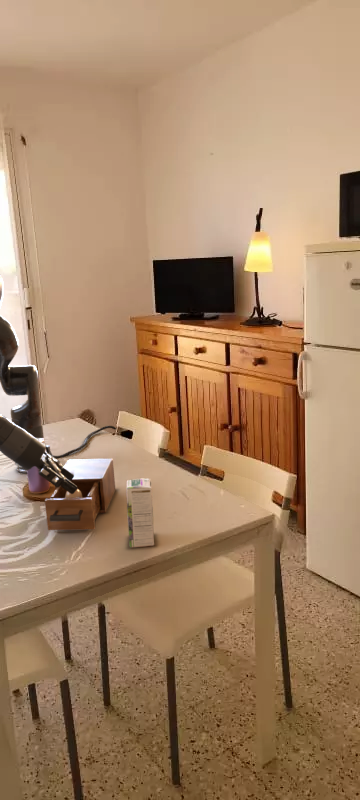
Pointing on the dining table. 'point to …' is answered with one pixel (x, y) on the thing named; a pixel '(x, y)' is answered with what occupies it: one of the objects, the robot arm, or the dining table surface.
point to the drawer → (74, 508)
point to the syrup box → (140, 512)
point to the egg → (76, 494)
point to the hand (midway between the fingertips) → (73, 484)
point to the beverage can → (37, 479)
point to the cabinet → (94, 476)
